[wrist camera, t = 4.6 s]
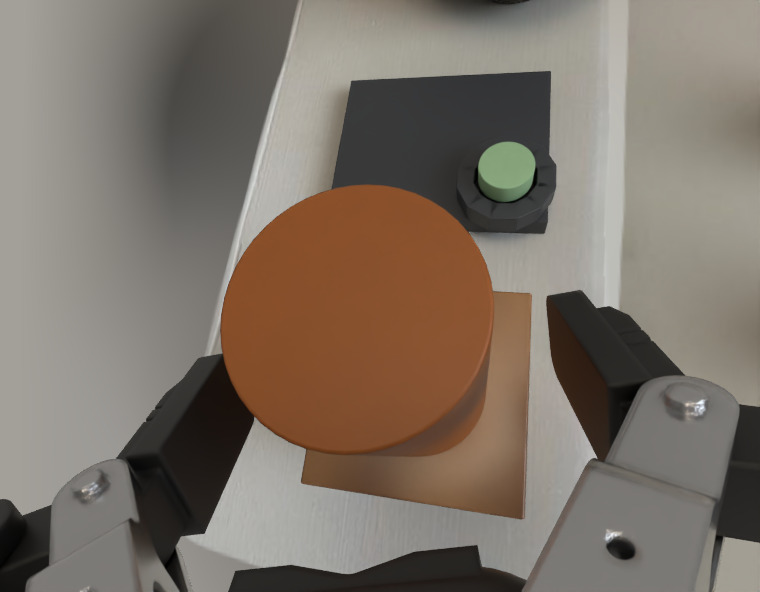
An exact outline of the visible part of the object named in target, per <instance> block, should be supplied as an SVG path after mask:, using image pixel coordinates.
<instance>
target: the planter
mask: <svg viewBox="0 0 760 592" xmlns="http://www.w3.org/2000/svg"><path fill="white" fill-rule="evenodd" d="M489 1H493V2H498V3H520V2H524V1H529V0H489Z"/></svg>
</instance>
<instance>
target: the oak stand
mask: <svg viewBox="0 0 760 592" xmlns="http://www.w3.org/2000/svg"><path fill="white" fill-rule="evenodd" d="M493 296H494V323H493V332H492V341H491V350H490V360H489V369H488V378H487V387H486V396H485V403H484V407H483V411H482V413H481V416H480V418H479V420H478V422H477V424H476V425H475V427H474V429H473V430H472V431H471V432H470V434H469V435H468V436H467V437H466V438H465V439H464V440H463V441H462V442H460V443H459V444H457V445H456V446H455V447H453V448H451V449H449V450H447V451H445V452H442V453H439V454H436V455H431V456H422V457H409V456H357V455H335V454H325V453H321V452H316V451H312V450H308V449H306V455H305V461H304V466H303V472H302V478H301V483H303V484H307V485H313V486H319V487H326V488H332V489H338V490H344V491H350V492H356V493H362V494H368V495H374V496H381V497H387V498H393V499H399V500H405V501H411V502H417V503H423V504H430V505H436V506H442V507H448V508H454V509H460V510H466V511H472V512H479V513H485V514H491V515H497V516H503V517H509V518H515V519H521V520H522V519H524V518H525V496H526V464H527V432H528V401H529V369H530V338H531V306H532V295H531V294H530V293H514V292H496V291H493Z"/></svg>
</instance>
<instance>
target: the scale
mask: <svg viewBox="0 0 760 592" xmlns="http://www.w3.org/2000/svg"><path fill="white" fill-rule="evenodd" d="M550 92H551V71H543V72H523V73H502V74H481V75H461V76H440V77H420V78H399V79H379V80H358V81H351V86H350V92H349V97H348V103H347V108H346V113H345V119H344V124H343V130H342V135H341V141H340V146H339V152H338V157H337V162H336V168H335V173H334V179H333V184H332V189H335V188H340V187H346V186H352V185H384V186H390V187H395V188H400V189H403V190H406V191H410V192H413V193H416V194H418V195H420V196H422V197H424V198H426V199H429V200H431V201H432V202H434V203H435V204H437V205H438V206H440V207H442V208H443V209H445V210H446V211H447V212H448V213H449V214H451V215H452V216H453V217H454V218H455V219H456V220H458V221H459V223H460V224H461V225H462V226H463V227H464V228H465V229H466V230H467V231H472V232H509V233H545V230H546V226H547V223H548V206H549V205H550V203H551V202H552V199H553V196H554V192H555V189H556V164H555V163H554V161H553V160H552V158H551V157H550V156H549V138H550ZM501 142H516V143H519V144H522V145H523V146H525V147H526V148H528V149H529V150H530V151H531V153H532V154H533V156H534V159H535V171H534V176H533V181H532V185H531V187H530V189H529V191H528V192H527V193H526V194H525V195H524V196H522V197H521V198H519V199H517V200H514V201H511V202H498V201H494V200H492V199H490V198H488V197H487V196H486V195H485V194H484V193H483V192H482V191H481V189H480V187H479V183H478V164H479V160H480V158H481V156H482V154H483V153H484V152H485V151H486V150H487V149H488V148H489V147H491V146H493V145H495V144H497V143H501Z"/></svg>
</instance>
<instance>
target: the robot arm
mask: <svg viewBox="0 0 760 592" xmlns="http://www.w3.org/2000/svg"><path fill="white" fill-rule="evenodd" d="M546 306H547V317H548V328H549V338H550V349H551V357H552V362H553V366H554V370H555V373H556V375H557V378H558V380H559V382H560V384H561V386H562V388H563V390H564V392H565V394H566V396H567V398H568V400H569V402H570V404H571V406H572V408H573V410H574V412H575V414H576V416H577V418H578V420H579V422H580V424H581V426H582V428H583V430H584V432H585V434H586V436H587V438H588V440H589V442H590V444H591V446H592V448H593V450H594V452H595V454H596V456H597V458H598V459H596V458H593V459H591V460H590V461H589V462H588V463H587V465H586V466H585V468H584V470H583V472H582V474H581V476H580V478H579V480H578V482H577V484H576V486H575V488H574V490H573V492H572V494H571V495H570V497H569V499H568V501H567V503H566V505H565V507H564V509H563V511H562V513H561V515H560V517H559V519H558V521H557V523H556V525H555V527H554V529H553V531H552V533H551V535H550V537H549V539H548V541H547V543H546V544H545V546H544V548H543V550H542V552H541V554H540V556H539V558H538V560H537V562H536V564H535V566H534V568H533V570H532V572H531V574H530V576H529V578H528V580H524V579H522V578H520V577H517V576H515V575H513V574H510V573H507V572H503V571H500V570H496V569H492V568H486V567H482V565H481V560H480V556H479V551H478V546H477V545H474V546H465V547H455V548H446V549H437V550H427V551H418V552H413V553H410V554H407V555H404V556H401V557H399V558H396V559H393V560H390V561H388V562H385V563H382V564H379V565H377V566H374V567H371V568H368V569H365V570H363V571H360V572H357V573H354V574H340V573H334V572H329V571H323V570H317V569H312V568H306V567H300V566H294V565H287V566H277V567H268V568H259V569H250V570H240V571H235V574H234V577H233V580H232V583H231V586H230V588H229V591H228V592H714V591H715V586H716V581H717V576H718V571H719V566H720V561H721V556H722V551H723V546H724V541H725V537H729V538H735V539H741V540H747V541H753V542H759V543H760V407H755V406H746V405H741V404H738V402H737V401H736V399H735V398H734V397H733V395H732V394H731V393H729V392H728V391H727V390H725V389H724V388H722V387H720V386H719V385H717V384H714V383H712V382H710V381H707V380H704V379H700V378H696V377H689V376H685V375H684V374H683V373H682V372H681V371H680V369H679V368H678V367H677V366H676V365H675V364H674V363H673V362H672V361H671V360H670V359H669V358H668V357H667V356H666V354H665V353H664V352H663V351H662V350H661V349H660V348H659V347H658V346H657V345H656V344H655V343H654V342H653V341H651V339H650V337H649V336H648V335H647V334H646V333H645V332H644V331H643V330H642V331H641V328H640V327H639V325H638V324H637V323H636V322H635V321H634V320H633V319H632V318H631V317H630V316H629V315H627V314H625V313H623V312H621V311H619V310H617V309H614V308H612V307H610V306H607V307H602V308H596V307H595V306H594V305H593V304H592V303H591V301H590V300H589V299H588V298H587V296H586V295H585V294H584V293H583V292H582V291H581V290H577V291H572V292H566V293H561V294H555V295H550V296H547V300H546ZM253 422H254V415H253V414H252V413H251V412H250V411H249V410H248V409H247V407H246V406H245V404H244V403H243V402H242V400H241V399H240V397H239V396H238V394H237V392H236V390H235V388H234V386H233V384H232V382H231V380H230V377H229V374H228V371H227V368H226V366H225V362H224V357H223V354H218V355H212V356H207V357H201V358H199V359H197V361H196V362H195V363H194V365H193V366H192V367H191V369H190V370H189V371H188V373H187V374H186V375H185V377H184V378H183V379H182V380H181V381H180V382H179V383H178V384H176V386H174V387H173V388H172V389H170V390H169V391H168V392H167V393H166V394H165V395H164V396H163V398H162V399H161V400H160V401H159V403H158V404H157V405H156V407H155V410H153V411H152V412H151V413H150V415H149V416H148V417H147V419H146V422H144V423H143V424H142V425H141V427H140V428H139V429H138V430H137V432H136V433H135V434H134V436H133V437H132V438H131V440H130V441H129V442H128V444H127V445H126V446H125V447H124V449H123V450H122V451H121V453H120V454H119V455H118V457H117V458H116V459H111V460H106V461H103V462H100V463H97V464H95V465H93V466H91V467H89V468H87V469H86V470H83V471H82V472H80V473H79V474H77V475H76V476H75V477H73V478H72V479H71V480H70V481H69V482H67V484H65V485H64V486H63V487H62V488H61V490H60V491H59V492H58V494H57V495H56V496H55V498H54V500H53V503H52V505H50V506H47V507H44V508H42V509H39V510H36V511H34V512H31V513H29V514H26V515H23V516H22V515H21V514H20V512H19V511H18V510H17V508H16V507H15V506H14V505H13V503H12V502H11V501H9V500H6V499H1V500H0V592H193V590H192V586H191V583H190V579H189V576H188V573H187V569H186V566H185V563H184V559H183V556H182V554H181V552H180V550H179V548H178V547H177V543H178V541H179V539H180V537H181V536H188V535H196V534H204V533H205V531H206V529H207V527H208V524H209V522H210V520H211V518H212V515H213V513H214V511H215V509H216V506H217V504H218V502H219V500H220V497H221V495H222V493H223V490H224V488H225V486H226V484H227V481H228V479H229V477H230V475H231V472H232V470H233V468H234V466H235V463H236V461H237V459H238V457H239V454H240V452H241V450H242V448H243V445H244V443H245V441H246V439H247V436H248V434H249V432H250V430H251V427H252V425H253Z"/></svg>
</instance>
